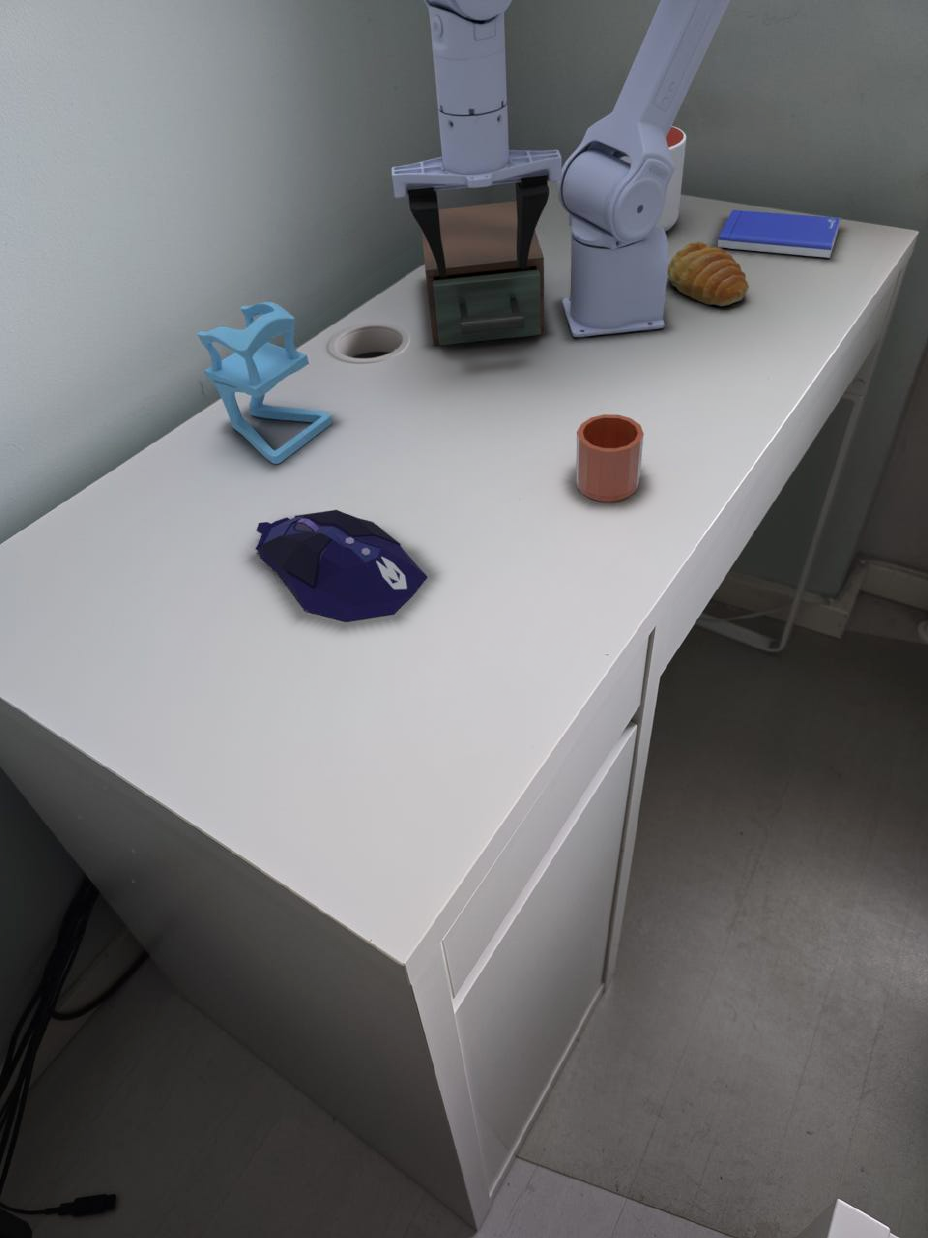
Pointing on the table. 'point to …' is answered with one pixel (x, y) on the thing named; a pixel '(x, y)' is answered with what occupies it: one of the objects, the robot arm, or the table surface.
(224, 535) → the table surface
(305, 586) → the computer mouse
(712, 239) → the table surface
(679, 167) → the cup
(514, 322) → the drawer
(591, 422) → the small cup
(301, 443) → the chair
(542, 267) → the cabinet
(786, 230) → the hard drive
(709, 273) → the pastry
